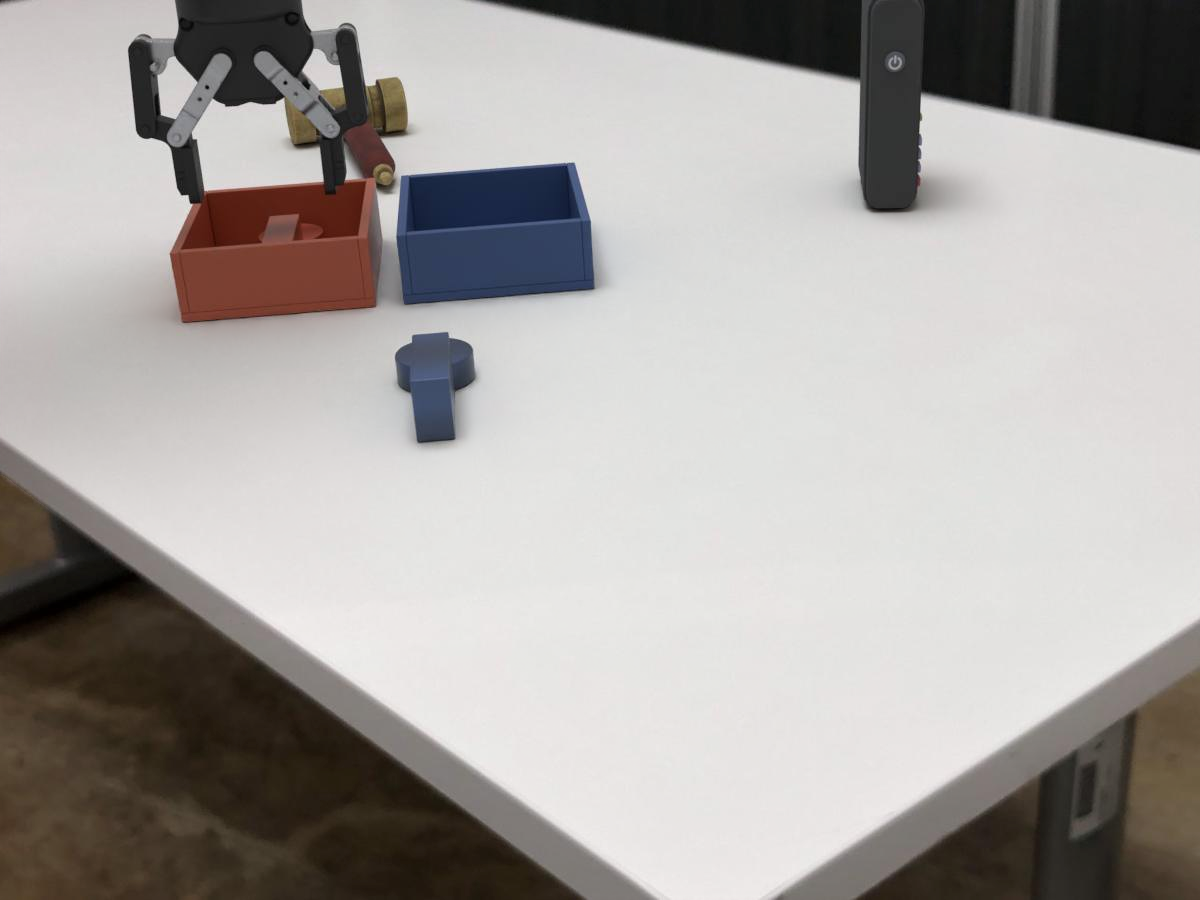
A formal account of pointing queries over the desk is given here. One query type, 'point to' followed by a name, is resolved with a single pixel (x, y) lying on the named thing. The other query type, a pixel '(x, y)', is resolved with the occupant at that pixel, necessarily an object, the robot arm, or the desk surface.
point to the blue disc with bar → (434, 380)
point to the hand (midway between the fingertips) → (264, 196)
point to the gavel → (364, 139)
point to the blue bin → (493, 233)
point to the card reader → (890, 101)
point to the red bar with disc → (289, 230)
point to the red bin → (278, 252)
